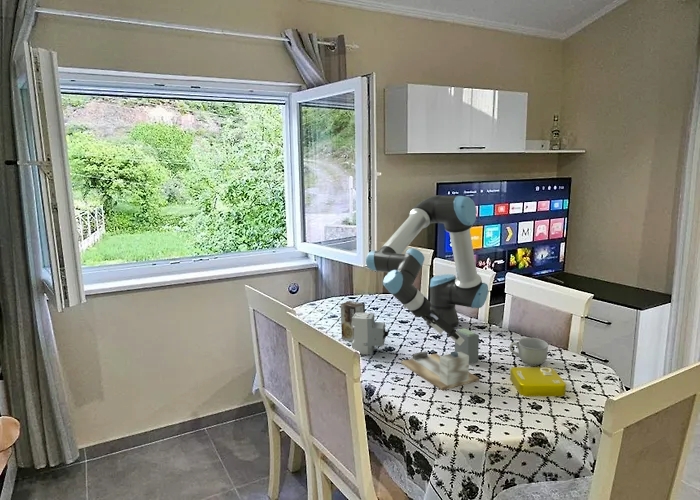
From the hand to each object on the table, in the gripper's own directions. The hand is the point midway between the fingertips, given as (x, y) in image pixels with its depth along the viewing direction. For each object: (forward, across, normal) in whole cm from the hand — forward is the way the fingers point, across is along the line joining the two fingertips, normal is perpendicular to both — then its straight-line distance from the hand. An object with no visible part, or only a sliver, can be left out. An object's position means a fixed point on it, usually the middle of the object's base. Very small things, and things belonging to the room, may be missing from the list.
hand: (451, 336), depth 193 cm
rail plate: (+2, +5, -14) cm, 14 cm away
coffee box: (-10, -40, -25) cm, 48 cm away
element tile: (+19, +28, +3) cm, 34 cm away
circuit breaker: (-9, -24, -24) cm, 35 cm away
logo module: (+12, -1, -2) cm, 13 cm away
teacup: (+27, +11, +12) cm, 31 cm away
